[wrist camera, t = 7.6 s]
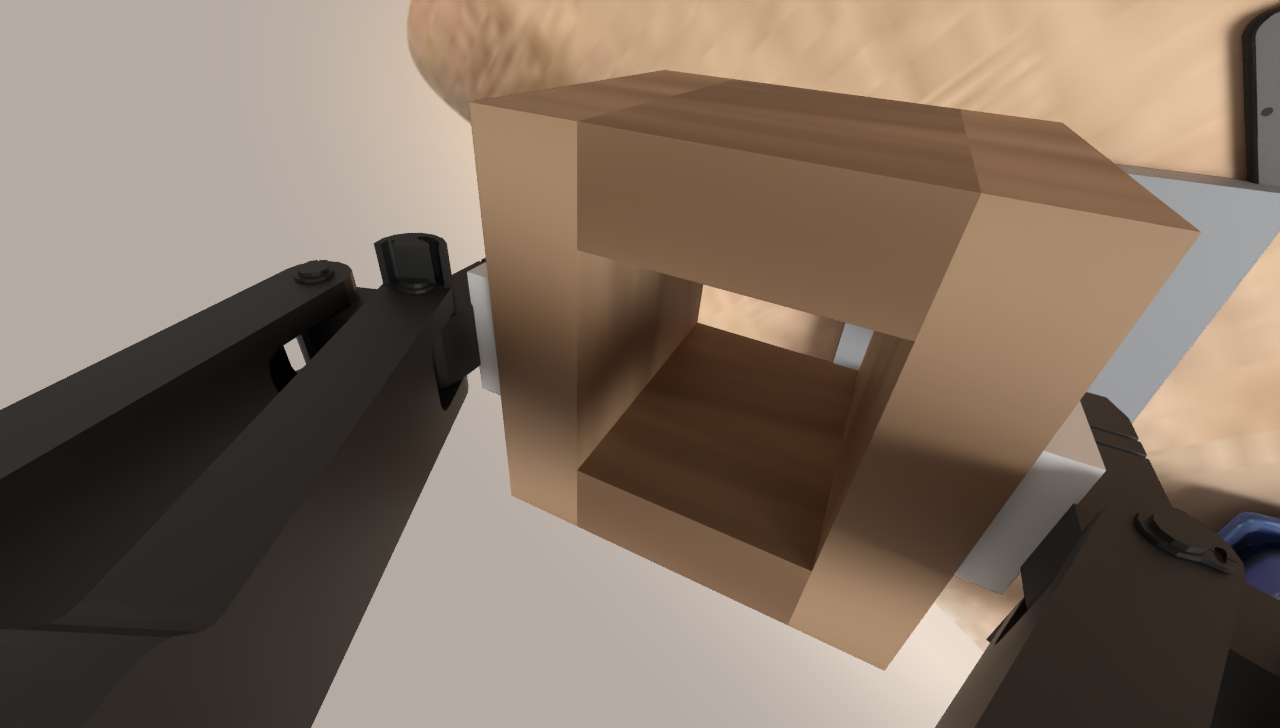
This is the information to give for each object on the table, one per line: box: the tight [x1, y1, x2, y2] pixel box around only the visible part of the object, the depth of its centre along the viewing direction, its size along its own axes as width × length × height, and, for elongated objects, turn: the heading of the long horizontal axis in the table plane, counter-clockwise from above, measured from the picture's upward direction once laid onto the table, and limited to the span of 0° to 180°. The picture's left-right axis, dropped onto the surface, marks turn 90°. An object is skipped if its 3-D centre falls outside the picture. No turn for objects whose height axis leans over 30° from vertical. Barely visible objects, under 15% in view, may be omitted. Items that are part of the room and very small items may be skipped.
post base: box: [833, 164, 1280, 424], centre depth 25 cm, size 16×14×7 cm
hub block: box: [469, 70, 1201, 670], centre depth 12 cm, size 12×8×7 cm
